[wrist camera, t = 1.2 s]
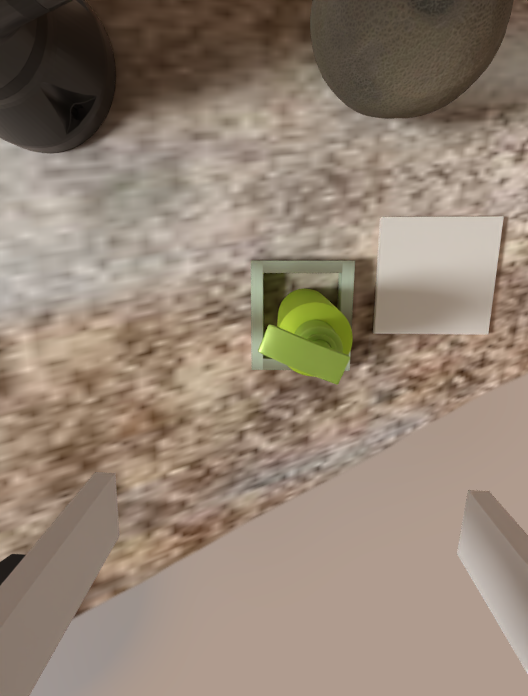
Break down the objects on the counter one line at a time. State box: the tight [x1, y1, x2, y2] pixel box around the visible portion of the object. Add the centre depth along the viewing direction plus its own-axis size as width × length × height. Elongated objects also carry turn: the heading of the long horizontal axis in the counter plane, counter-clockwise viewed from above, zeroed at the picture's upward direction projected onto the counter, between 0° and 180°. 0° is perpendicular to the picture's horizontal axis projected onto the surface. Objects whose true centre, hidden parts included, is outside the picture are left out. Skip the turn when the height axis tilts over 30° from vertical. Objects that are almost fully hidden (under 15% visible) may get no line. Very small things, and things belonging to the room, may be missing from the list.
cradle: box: [251, 260, 355, 371], centre depth 42 cm, size 11×10×2 cm
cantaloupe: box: [310, 0, 513, 118], centre depth 30 cm, size 14×14×15 cm
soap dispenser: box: [258, 289, 353, 385], centre depth 33 cm, size 6×7×20 cm
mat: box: [373, 216, 504, 334], centre depth 41 cm, size 12×12×1 cm
